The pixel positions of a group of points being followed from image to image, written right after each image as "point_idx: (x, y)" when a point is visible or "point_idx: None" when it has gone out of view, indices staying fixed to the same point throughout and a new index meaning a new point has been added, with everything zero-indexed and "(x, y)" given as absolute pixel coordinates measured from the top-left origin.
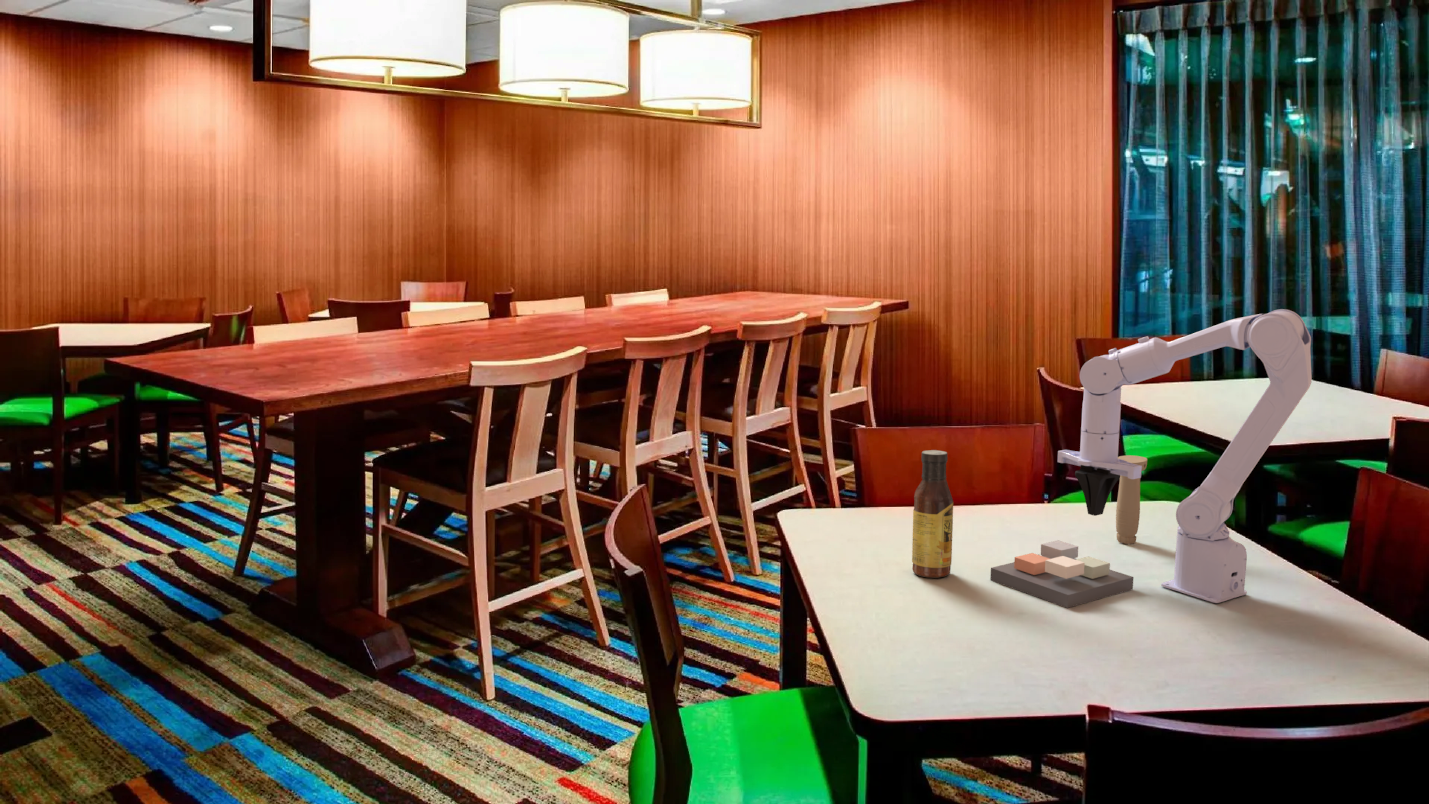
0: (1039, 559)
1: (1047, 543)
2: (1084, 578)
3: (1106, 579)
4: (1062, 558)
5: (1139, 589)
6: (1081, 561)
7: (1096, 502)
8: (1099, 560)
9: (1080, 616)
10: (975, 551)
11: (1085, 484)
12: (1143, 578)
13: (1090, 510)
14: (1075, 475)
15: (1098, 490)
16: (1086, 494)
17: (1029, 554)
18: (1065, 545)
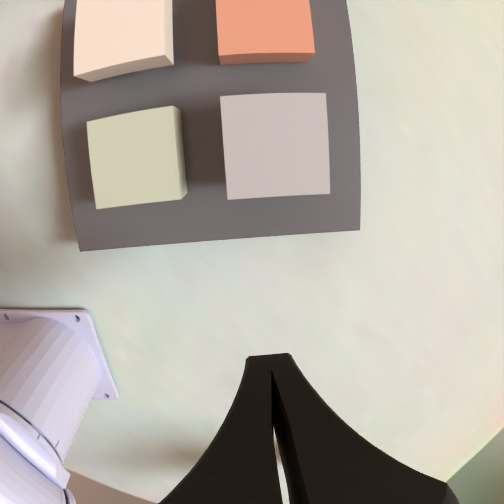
0: (242, 18)
1: (320, 121)
2: (122, 111)
3: (89, 165)
4: (144, 33)
5: (91, 256)
6: (148, 131)
7: (233, 404)
8: (130, 198)
9: (40, 10)
10: (497, 135)
11: (325, 470)
12: (149, 326)
13: (272, 364)
14: (442, 485)
15: (195, 464)
16: (308, 417)
17: (306, 33)
18: (262, 162)
